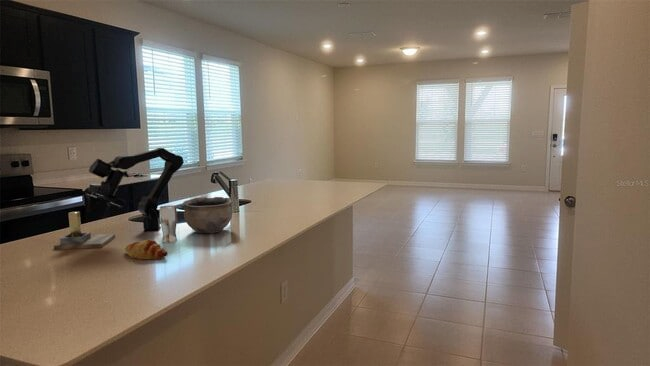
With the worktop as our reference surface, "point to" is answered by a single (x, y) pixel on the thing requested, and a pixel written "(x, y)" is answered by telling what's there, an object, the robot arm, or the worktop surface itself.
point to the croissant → (146, 250)
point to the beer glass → (168, 223)
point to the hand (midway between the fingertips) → (95, 215)
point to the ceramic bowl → (207, 214)
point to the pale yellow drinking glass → (75, 224)
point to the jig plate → (84, 241)
